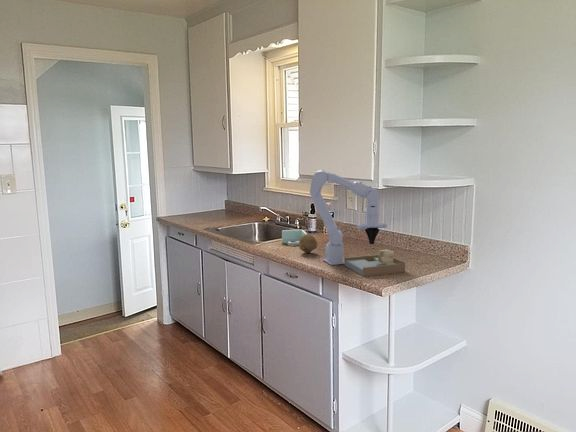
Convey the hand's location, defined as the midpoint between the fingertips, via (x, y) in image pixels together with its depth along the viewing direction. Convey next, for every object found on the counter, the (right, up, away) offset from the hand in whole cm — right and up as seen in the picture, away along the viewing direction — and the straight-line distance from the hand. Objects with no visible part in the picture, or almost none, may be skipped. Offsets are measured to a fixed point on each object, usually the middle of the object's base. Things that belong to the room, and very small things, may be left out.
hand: (371, 243), depth 218 cm
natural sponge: (-28, -6, +22) cm, 37 cm away
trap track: (0, -11, -7) cm, 13 cm away
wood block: (+5, -8, -5) cm, 11 cm away
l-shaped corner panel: (-35, -4, +41) cm, 54 cm away
